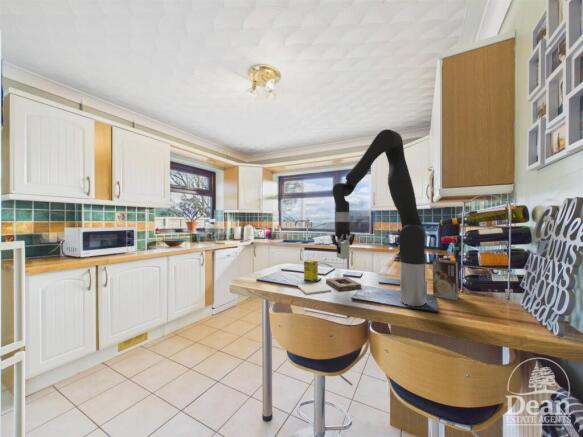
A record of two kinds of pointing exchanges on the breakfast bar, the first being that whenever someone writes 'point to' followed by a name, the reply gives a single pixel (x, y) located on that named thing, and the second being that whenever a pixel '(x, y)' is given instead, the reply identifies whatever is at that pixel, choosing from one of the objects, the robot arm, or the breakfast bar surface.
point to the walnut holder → (348, 286)
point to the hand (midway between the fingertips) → (342, 253)
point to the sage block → (344, 251)
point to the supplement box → (310, 270)
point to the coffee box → (445, 279)
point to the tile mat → (313, 288)
